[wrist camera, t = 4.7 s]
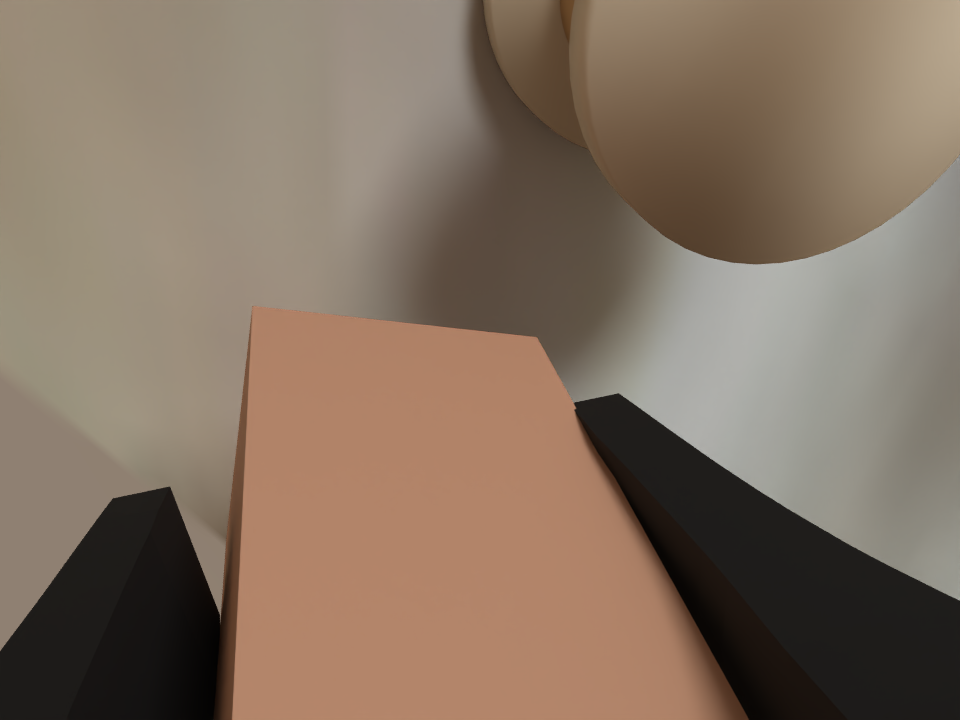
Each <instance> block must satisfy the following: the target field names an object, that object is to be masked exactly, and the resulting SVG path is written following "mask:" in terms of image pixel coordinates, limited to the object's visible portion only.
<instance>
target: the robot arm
mask: <svg viewBox="0 0 960 720" xmlns="http://www.w3.org/2000/svg"><path fill="white" fill-rule="evenodd" d="M574 405H575V407H576V409H575V410H574V411H575V412H576V414H577V416H578V418H579V420H580V422H581V423H582V425H583V427H584V429H585V431H586V432H587V434H588V436H589V438H590V440H591V442H592V443H593V445H594V447H595V449H596V451H597V452H598V454H599V455H600V457H601V458H602V460H603V461H604V463H605V464H606V466H607V467H608V468H609V470H610V471H611V473H612V474H613V476H614V477H615V479H616V481H617V483H618V484H619V486H620V488H621V490H622V492H623V493H624V495H625V497H626V499H627V501H628V502H629V504H630V506H631V508H632V510H633V511H634V513H635V515H636V517H637V519H638V520H639V522H640V524H641V526H642V528H643V529H644V531H645V533H646V535H647V537H648V538H649V540H650V542H651V544H652V546H653V547H654V549H655V551H656V553H657V555H658V556H659V558H660V560H661V562H662V564H663V565H664V567H665V569H666V571H667V573H668V574H669V576H670V578H671V580H672V582H673V583H674V585H675V587H676V589H677V591H678V592H679V594H680V596H681V598H682V600H683V602H684V603H685V605H686V607H687V609H688V611H689V612H690V614H691V616H692V618H693V620H694V621H695V623H696V625H697V627H698V629H699V630H700V632H701V634H702V636H703V638H704V639H705V641H706V643H707V645H708V647H709V648H710V650H711V652H712V654H713V656H714V657H715V659H716V661H717V663H718V665H719V666H720V668H721V670H722V672H723V674H724V675H725V677H726V679H727V681H728V683H729V684H730V686H731V688H732V690H733V692H734V693H735V695H736V697H737V699H738V701H739V702H740V704H741V706H742V708H743V710H744V711H745V713H746V715H747V717H748V719H749V720H960V601H959V600H957V599H955V598H953V597H951V596H948V595H946V594H944V593H942V592H940V591H938V590H936V589H934V588H932V587H930V586H928V585H926V584H924V583H922V582H920V581H918V580H916V579H914V578H912V577H910V576H908V575H906V574H904V573H902V572H900V571H898V570H896V569H894V568H892V567H890V566H888V565H886V564H884V563H882V562H880V561H878V560H876V559H875V558H873V557H871V556H869V555H867V554H865V553H863V552H862V551H860V550H858V549H856V548H854V547H852V546H850V545H849V544H847V543H845V542H843V541H842V540H840V539H838V538H836V537H835V536H833V535H831V534H830V533H828V532H826V531H824V530H823V529H821V528H819V527H818V526H816V525H814V524H812V523H811V522H809V521H807V520H806V519H804V518H802V517H800V516H799V515H797V514H795V513H794V512H792V511H790V510H789V509H787V508H785V507H784V506H782V505H781V504H779V503H777V502H776V501H774V500H773V499H771V498H769V497H768V496H766V495H765V494H763V493H761V492H760V491H758V490H757V489H755V488H754V487H752V486H751V485H749V484H748V483H746V482H745V481H743V480H741V479H740V478H738V477H737V476H735V475H734V474H732V473H731V472H729V471H728V470H726V469H725V468H723V467H722V466H720V465H719V464H717V463H716V462H715V461H713V460H712V459H710V458H709V457H707V456H706V455H704V454H703V453H702V452H700V451H699V450H697V449H696V448H694V447H693V446H692V445H690V444H689V443H687V442H686V441H685V440H683V439H682V438H680V437H679V436H677V435H676V434H675V433H673V432H672V431H670V430H669V429H668V428H666V427H665V426H664V425H662V424H661V423H659V422H658V421H657V420H655V419H654V418H652V417H651V416H650V415H648V414H647V413H645V412H644V411H643V410H641V409H640V408H638V407H637V406H636V405H634V404H633V403H631V402H630V401H629V400H627V399H626V398H624V397H623V396H622V395H620V394H619V393H618V394H614V395H609V396H604V397H599V398H594V399H590V400H585V401H580V402H575V403H574ZM219 638H220V614H219V612H218V609H217V606H216V604H215V601H214V599H213V596H212V594H211V591H210V588H209V586H208V583H207V581H206V578H205V576H204V573H203V571H202V568H201V565H200V563H199V560H198V558H197V555H196V552H195V550H194V547H193V545H192V542H191V540H190V537H189V534H188V532H187V530H186V527H185V524H184V521H183V519H182V516H181V514H180V511H179V509H178V506H177V503H176V501H175V498H174V496H173V493H172V491H171V488H170V487H166V488H161V489H156V490H151V491H147V492H142V493H137V494H132V495H127V496H123V497H118V498H113V499H112V501H111V502H110V503H109V504H108V506H107V507H106V508H105V510H104V511H103V512H102V514H101V515H100V516H99V518H98V519H97V520H96V522H95V523H94V525H93V526H92V527H91V528H90V530H89V531H88V533H87V534H86V535H85V537H84V538H83V539H82V541H81V542H80V544H79V545H78V546H77V548H76V549H75V551H74V552H73V553H72V555H71V556H70V557H69V559H68V560H67V562H66V563H65V564H64V566H63V567H62V569H61V570H60V571H59V573H58V574H57V576H56V577H55V578H54V580H53V581H52V583H51V584H50V585H49V587H48V588H47V589H46V591H45V592H44V593H43V595H42V596H41V597H40V599H39V600H38V602H37V603H36V604H35V606H34V607H33V608H32V610H31V611H30V612H29V614H28V615H27V616H26V618H25V619H24V620H23V622H22V623H21V624H20V626H19V627H18V628H17V630H16V631H15V632H14V634H13V635H12V636H11V637H10V639H9V640H8V641H7V643H6V644H5V645H4V647H3V648H2V650H1V651H0V720H214V707H215V694H216V681H217V666H218V652H219Z"/></svg>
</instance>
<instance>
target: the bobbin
mask: <svg viewBox="0 0 960 720" xmlns="http://www.w3.org/2000/svg"><path fill="white" fill-rule="evenodd" d="M483 6H484V18H485V22H486V27H487V32H488V37H489V41H490V44H491V46H492V49H493V52H494V55H495V58H496V61H497V63H498V65H499V67H500V69H501V71H502V73H503V75H504V77H505V79H506V80H507V82H508V83H509V85H510V86H511V88H512V89H513V90H514V92H515V93H516V95H517V96H518V97H519V98H520V99H521V100H522V102H523V103H524V104H525V105H526V106H527V107H528V108H529V109H530V110H531V111H532V112H533V113H534V114H535V115H536V116H537V117H538V118H539V119H540V120H541V121H542V122H544V123H545V124H546V125H547V126H548V127H550V128H551V129H552V130H553V131H554V132H556V133H557V134H559V135H561V136H562V137H564V138H565V139H567V140H569V141H570V142H572V143H574V144H577V145H579V146H582V147H584V148H586V149H589V150H590V153H591V155H592V157H593V159H594V161H595V163H596V164H597V166H598V167H599V169H600V170H601V172H602V173H603V175H604V177H605V178H606V180H607V181H608V183H609V184H610V185H611V186H612V187H613V188H614V189H615V190H616V191H617V193H618V194H619V195H620V196H621V197H622V198H623V199H624V200H625V201H626V202H627V203H628V204H629V205H630V206H631V207H632V208H633V209H634V210H635V211H636V212H637V213H638V214H639V215H640V216H641V217H642V218H643V219H644V220H645V221H647V222H648V223H649V224H650V225H651V226H653V227H654V228H655V229H656V230H658V231H659V232H660V233H661V234H662V235H664V236H665V237H667V238H668V239H670V240H672V241H674V242H675V243H677V244H679V245H680V246H682V247H684V248H686V249H688V250H691V251H693V252H696V253H698V254H701V255H704V256H706V257H709V258H714V259H718V260H723V261H727V262H732V263H745V264H769V263H782V262H788V261H793V260H798V259H804V258H808V257H811V256H814V255H818V254H821V253H824V252H827V251H830V250H833V249H835V248H837V247H840V246H842V245H844V244H847V243H849V242H851V241H854V240H856V239H858V238H859V237H861V236H863V235H865V234H867V233H868V232H870V231H872V230H874V229H875V228H877V227H879V226H881V225H882V224H884V223H885V222H886V221H888V220H889V219H891V218H892V217H894V216H895V215H896V214H898V213H899V212H901V211H902V210H904V209H905V208H906V207H907V206H908V205H910V204H911V203H912V202H913V201H914V200H915V199H917V198H918V197H919V196H920V195H921V194H923V193H924V192H925V191H926V190H927V189H928V188H929V187H930V186H931V185H932V184H933V183H934V182H935V181H936V180H937V179H938V178H939V177H940V176H941V175H942V174H943V173H944V172H945V171H946V170H947V169H948V168H949V167H950V166H951V164H952V163H953V162H954V161H955V160H956V158H957V157H958V156H959V155H960V0H483Z"/></svg>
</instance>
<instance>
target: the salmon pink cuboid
mask: <svg viewBox="0 0 960 720" xmlns="http://www.w3.org/2000/svg"><path fill="white" fill-rule="evenodd" d="M575 409H576V407H575V405H574V403H573V401H572V400H571V398H570V396H569V394H568V392H567V391H566V389H565V387H564V385H563V383H562V382H561V380H560V378H559V376H558V374H557V373H556V371H555V369H554V367H553V365H552V364H551V362H550V360H549V358H548V356H547V354H546V353H545V351H544V349H543V347H542V345H541V344H540V342H539V340H538V338H537V337H531V336H521V335H512V334H503V333H494V332H485V331H476V330H467V329H457V328H448V327H439V326H430V325H421V324H412V323H403V322H394V321H384V320H375V319H366V318H357V317H348V316H339V315H330V314H320V313H311V312H302V311H293V310H284V309H275V308H266V307H257V306H252V315H251V324H250V333H249V342H248V351H247V360H246V369H245V377H244V386H243V395H242V404H241V413H240V422H239V431H238V440H237V449H236V458H235V466H234V475H233V484H232V493H231V502H230V511H229V520H228V529H227V538H226V553H225V565H224V580H223V594H222V608H221V622H220V638H219V652H218V666H217V681H216V694H215V707H214V720H749V719H748V717H747V715H746V713H745V711H744V710H743V708H742V706H741V704H740V702H739V701H738V699H737V697H736V695H735V693H734V692H733V690H732V688H731V686H730V684H729V683H728V681H727V679H726V677H725V675H724V674H723V672H722V670H721V668H720V666H719V665H718V663H717V661H716V659H715V657H714V656H713V654H712V652H711V650H710V648H709V647H708V645H707V643H706V641H705V639H704V638H703V636H702V634H701V632H700V630H699V629H698V627H697V625H696V623H695V621H694V620H693V618H692V616H691V614H690V612H689V611H688V609H687V607H686V605H685V603H684V602H683V600H682V598H681V596H680V594H679V592H678V591H677V589H676V587H675V585H674V583H673V582H672V580H671V578H670V576H669V574H668V573H667V571H666V569H665V567H664V565H663V564H662V562H661V560H660V558H659V556H658V555H657V553H656V551H655V549H654V547H653V546H652V544H651V542H650V540H649V538H648V537H647V535H646V533H645V531H644V529H643V528H642V526H641V524H640V522H639V520H638V519H637V517H636V515H635V513H634V511H633V510H632V508H631V506H630V504H629V502H628V501H627V499H626V497H625V495H624V493H623V492H622V490H621V488H620V486H619V484H618V483H617V481H616V479H615V477H614V476H613V474H612V473H611V471H610V470H609V468H608V467H607V466H606V464H605V463H604V461H603V460H602V458H601V457H600V455H599V454H598V452H597V451H596V449H595V447H594V445H593V443H592V442H591V440H590V438H589V436H588V434H587V432H586V431H585V429H584V427H583V425H582V423H581V422H580V420H579V418H578V416H577V414H576V412H575V411H574V410H575Z"/></svg>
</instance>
